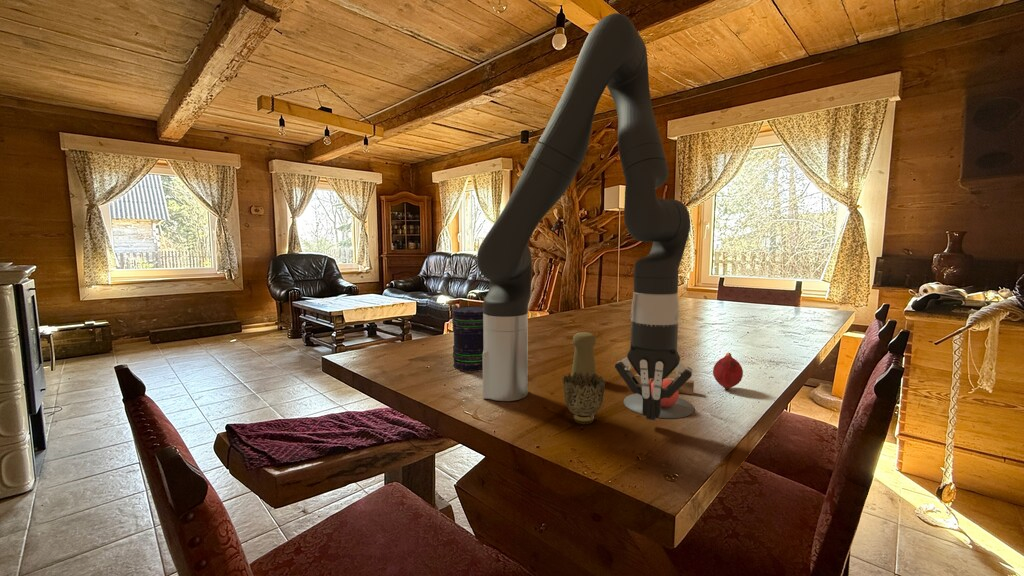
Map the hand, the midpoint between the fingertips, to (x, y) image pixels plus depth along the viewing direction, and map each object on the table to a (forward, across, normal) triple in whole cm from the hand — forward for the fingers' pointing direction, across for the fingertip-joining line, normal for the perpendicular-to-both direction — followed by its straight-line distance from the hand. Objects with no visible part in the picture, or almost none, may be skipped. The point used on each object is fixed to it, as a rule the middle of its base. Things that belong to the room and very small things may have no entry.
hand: (651, 418), depth 74 cm
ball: (-1, -1, -11) cm, 11 cm away
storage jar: (+2, +47, -19) cm, 51 cm away
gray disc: (+2, 0, -11) cm, 11 cm away
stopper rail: (+2, 0, -21) cm, 21 cm away
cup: (+2, +11, +3) cm, 12 cm away
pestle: (+2, +18, -21) cm, 27 cm away
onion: (+2, -12, -27) cm, 30 cm away
